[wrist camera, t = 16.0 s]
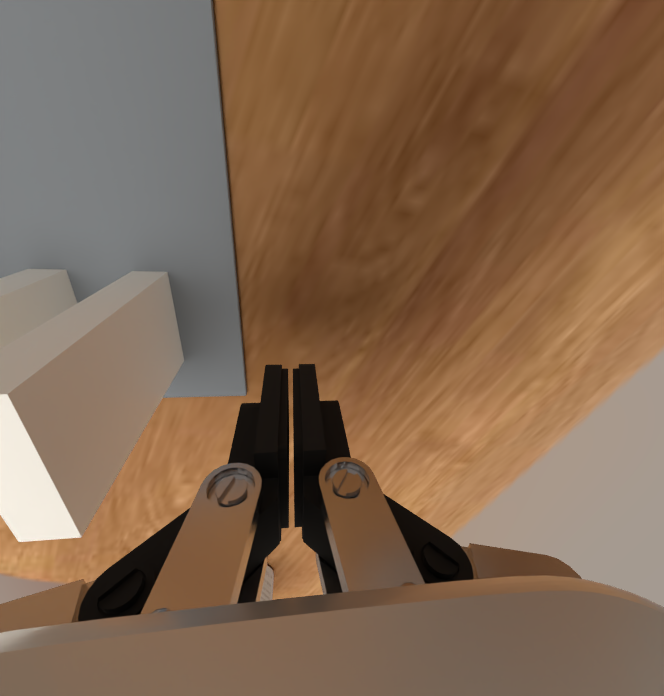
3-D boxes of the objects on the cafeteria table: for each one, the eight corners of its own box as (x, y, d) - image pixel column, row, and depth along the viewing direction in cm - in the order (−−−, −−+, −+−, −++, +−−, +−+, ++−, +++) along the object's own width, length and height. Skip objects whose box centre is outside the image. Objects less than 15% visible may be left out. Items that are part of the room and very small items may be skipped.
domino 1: (167, 271, 16) (7, 394, 7) (184, 360, 18) (81, 537, 9) (132, 271, 15) (-81, 396, 7) (153, 361, 18) (18, 542, 9)
